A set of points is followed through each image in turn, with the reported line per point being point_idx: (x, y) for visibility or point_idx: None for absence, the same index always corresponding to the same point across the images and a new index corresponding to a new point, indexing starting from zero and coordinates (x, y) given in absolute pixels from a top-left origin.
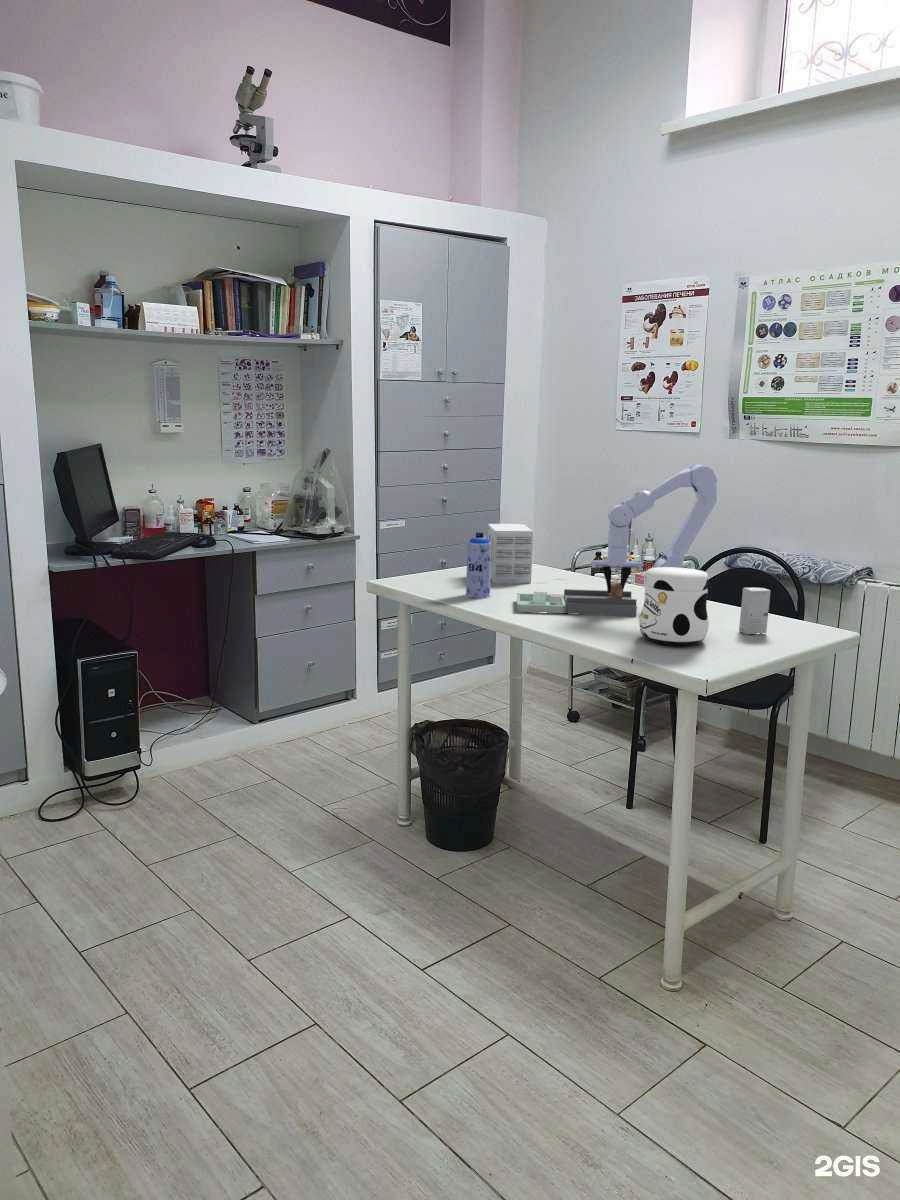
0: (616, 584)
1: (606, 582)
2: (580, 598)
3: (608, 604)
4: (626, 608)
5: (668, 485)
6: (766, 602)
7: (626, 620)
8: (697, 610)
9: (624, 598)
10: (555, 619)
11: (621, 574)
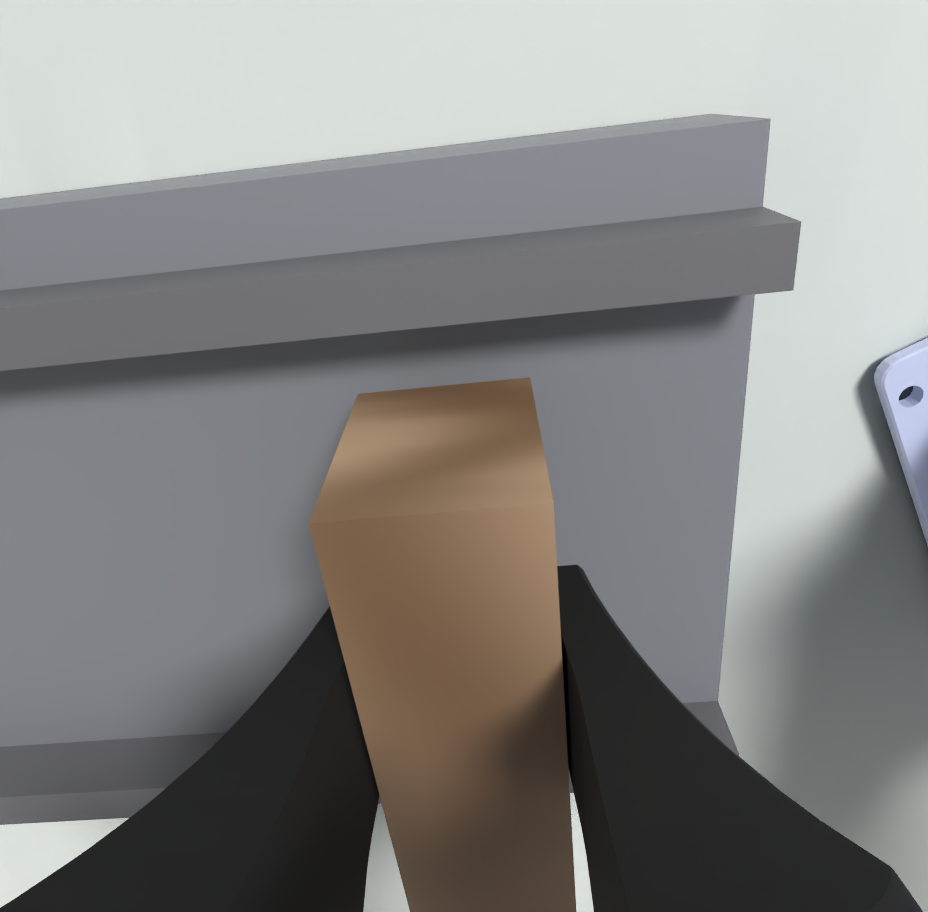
0: (481, 780)
1: (277, 688)
2: (67, 815)
3: None
4: None
5: None
6: None
7: (570, 804)
8: None
9: (620, 419)
10: (29, 864)
11: (605, 901)
